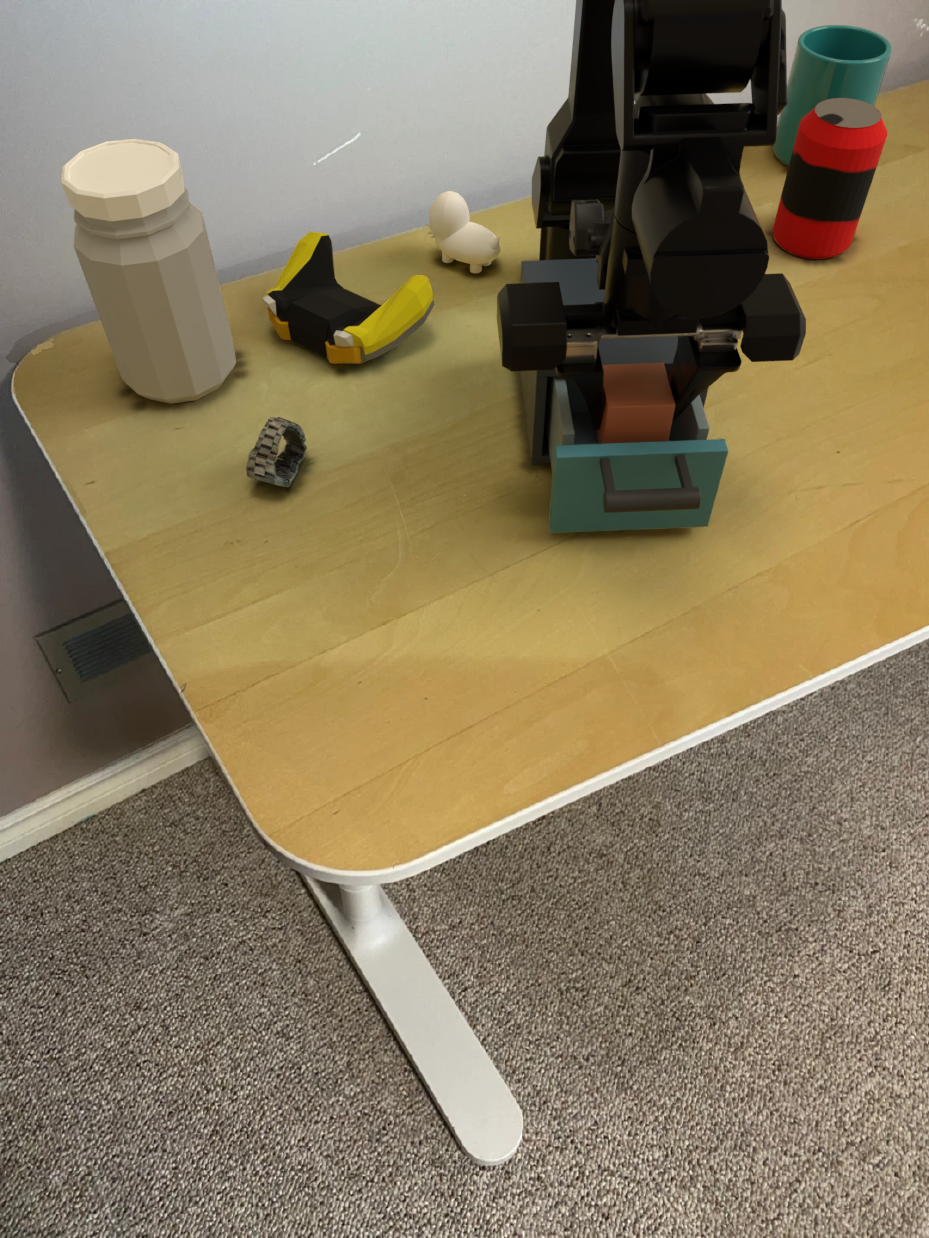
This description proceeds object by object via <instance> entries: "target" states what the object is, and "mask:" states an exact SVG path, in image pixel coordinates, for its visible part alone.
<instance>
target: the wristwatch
mask: <svg viewBox="0 0 929 1238" xmlns="http://www.w3.org/2000/svg"><path fill="white" fill-rule="evenodd" d="M282 437H283V440H285V445H284V447H283V450H282V451H281V452H280V453H279V448H280V447H279V446H280V443H281V440H282ZM306 441H307V438H306V434H305V431H304V429H303V428H302V426H301V425H300V424H299V423H296V422H294V421H291V420H289V419H286V418H284V417H281V416H276V417H275V416H270V417H269V418H268V419H267V421H266V422H265V423H264V425H263V427H262V429H261V431H259V434H258V436H257V440H256V442H255V444H254V447H253V448H251V450H250V452H249V453H248V459H247V462H246V465H245V471H246V477H247V478H249V479H252V480H257V481H260V482H263V483H267V484H271V485H275V486H277V487H283V488H289V487H291V485H292V483H293V481H294V480H295V477H296V475H297V474H298V472H299V465H300V464H301V462H303V460H304V459H305V456H306V453H307V452H306V451H307V449H308V446H307V445H306V444H305V443H306Z"/></svg>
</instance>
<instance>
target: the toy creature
mask: <svg viewBox="0 0 929 1238" xmlns="http://www.w3.org/2000/svg"><path fill="white" fill-rule="evenodd" d="M470 216H471V215H470V210H469V207H468V204H467V201H466V199H464V197H463V196H462V195H461V194H459V193H458V192H456V191H453V190H447V191H443V192H442V193H440V194H438V196H437V197H435V199H434V201H433V202H432V203H431V205H430V207H429V216H428V220H429V221H428V222H429V224H426V227H428V228H429V229H430V230H429V231H428V232H427V233H426V235H431V237H430V239H434V240H435V243H436V245H437V246H438V248H439V249H440V250H441V260H442V262H443V263H445V264H451V263H453V262H454V261H455V260H456V261H458V262H461V263H465V264H468V265H469V272H470V273H472V274H479V273H481V272H482V270H483V267H487V266H490V265H491V264H492V261H494V260H496V259H497V258H498V256H499V255H500V253H501V249H502V248H501V243H500V239H501V237H497V236H496V235H495V234H494V233H493V231H492V230H490V229H488V228H487V227H486V226H485V225H484V226H483V225H481V224H479V223H477V222H474V221H470V220H471V219H470Z"/></svg>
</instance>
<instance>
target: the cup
mask: <svg viewBox="0 0 929 1238" xmlns="http://www.w3.org/2000/svg"><path fill="white" fill-rule="evenodd" d="M794 50H795V51H794V53H793V59H792V63H791V66H790V72H789V75H788V78H787V105H786V106H785V108H784V109H783V110H782V111H781V113H780V114H779V117H778V120H777V136H776V142H775V144H774V145H773V146H772V150H773V154H774V155H775V157H776V159H778V161H780V162H781V163H782V164H784V165H785V166H787V167H789V163H790V159H791V155H792V151H793V148H794V144H795V140H796V136H797V132H798V128H799V124H800V121H801V120H802V118H803V117H805V116H806V115H807V114H808V113H809V112H810V111H812V110H813V109H814V108H815V107H816V105H817V104H819V103H820V102H822V101H824V100H827V99H833V98H850V99H856V100H860V101H864V102H866V103H869V104H871V105H873V106H874V107H876V103H877V99H878V97H879V93H880V90H881V86H882V84H883V80H884V77H885V74H886V71H887V67H888V64H889V61H890V57H891V54H892V52H893V51H892V50H893V47H892V44H891V42H890V40H888V39H887V38H886V37H885V36H883V35H881V34H880V33H877V32H875V31H873V30H870V29H867V28H863V27H859V26H854V25H846V24H845V25H844V24H827V25H820V26H815V27H812V28H808V29H806V30H804V32H802V33H800V35H799V36H798V38H797V42H796V47H795V49H794Z"/></svg>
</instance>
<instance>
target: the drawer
mask: <svg viewBox="0 0 929 1238" xmlns="http://www.w3.org/2000/svg"><path fill="white" fill-rule="evenodd" d="M666 373H667V376H668V379H669V375H670V372H666ZM705 411H706V410H705V407H704V408H703V405H702V401H701V398H700V395H699V396H698V397H697V398H696V399H695V400H694V401H692V403H691V404H690V405H689V406H688V407H687V408H686V409H685V410H684V411H683V412H682V413H681V414H680V415H679V416H678V417H677V418H676V420H675V421H674V422H673V423H672V424H671V429H670V434H669V439H668V441H660V442H635V443H610V444H598V439H597V434H596V430H594V428H593V425H592V422H591V418H590V415H589V412H588V408H587V405H586V402H585V399H584V397H583V396H582V394H581V392H580V390H579V389H578V387H577V385H576V384H575V382H574V380H573V379H564V378H561V377H559V376H552V377H547V391H546V406H545V420H544V421H545V428H546V434H547V441H548V448H549V455H550V462H551V463H550V467H551V475H552V476H551V477H552V478H551V489H550V502H549V512H548V513H549V514H548V526H549V532H550V534H559V533H560V534H563V533H565V534H566V533H583V532H584V533H585V532H587V533H588V532H606V531H607V532H609V531H610V532H611V531H633V530H636V531H637V530H661V529H662V530H663V529H682V528H683V529H685V528H686V529H687V528H707V527H709V523H710V521H711V520H710V519H711V517H712V513H713V509H714V505H715V502H716V498H717V494H718V492H719V487H720V483H721V479H722V476H723V473H724V468H725V465H726V460H727V457H728V454H729V448H728V444H727V441H726V439H725V438H715V439H712V438H711V439H708V437H709V433H710V425H709V421H708V418H707V416H706V415H707V414H706V412H705Z"/></svg>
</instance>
